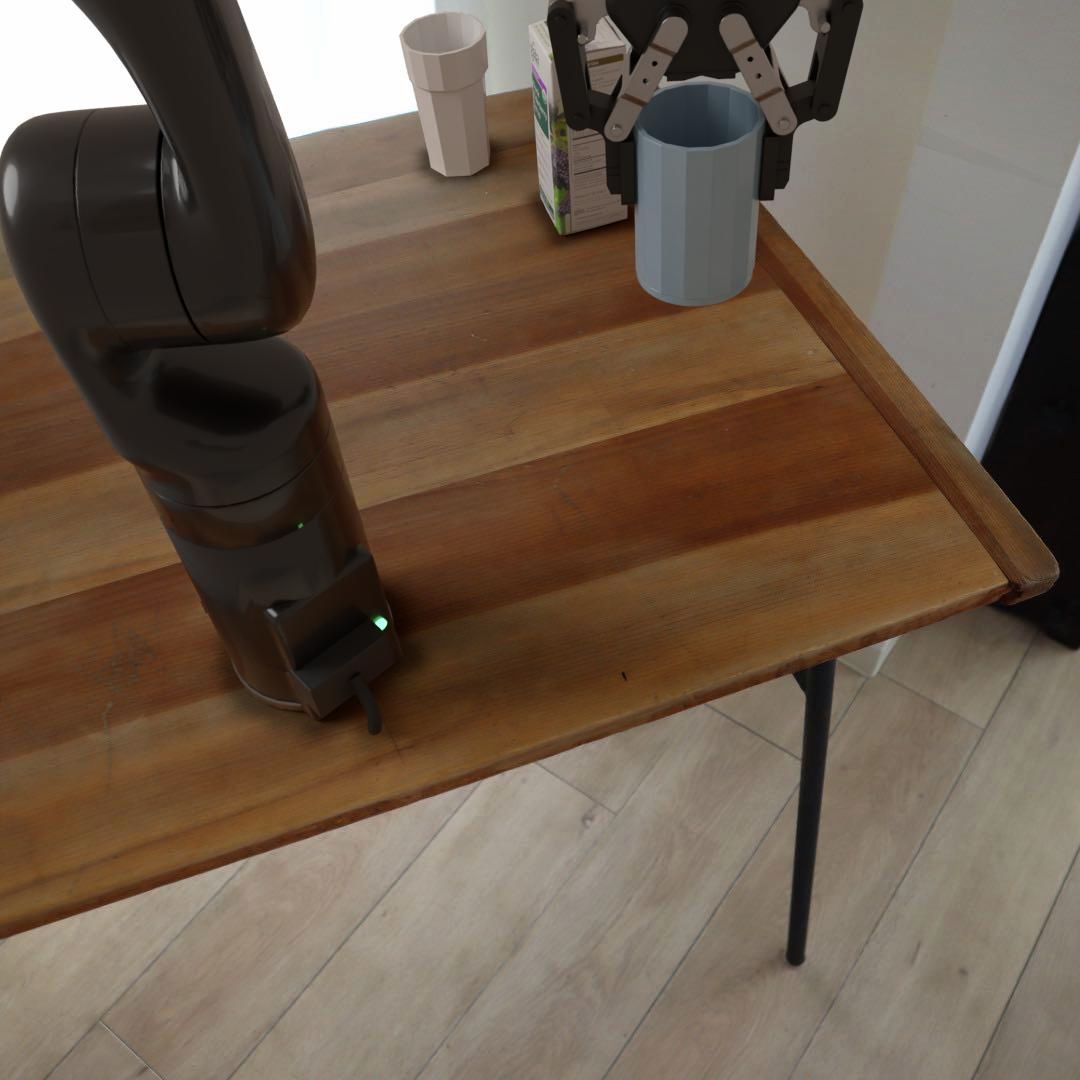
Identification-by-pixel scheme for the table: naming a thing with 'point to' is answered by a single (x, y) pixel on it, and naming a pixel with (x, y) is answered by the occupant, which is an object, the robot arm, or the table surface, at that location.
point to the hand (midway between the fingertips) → (696, 193)
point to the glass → (697, 192)
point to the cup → (450, 89)
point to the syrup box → (573, 135)
